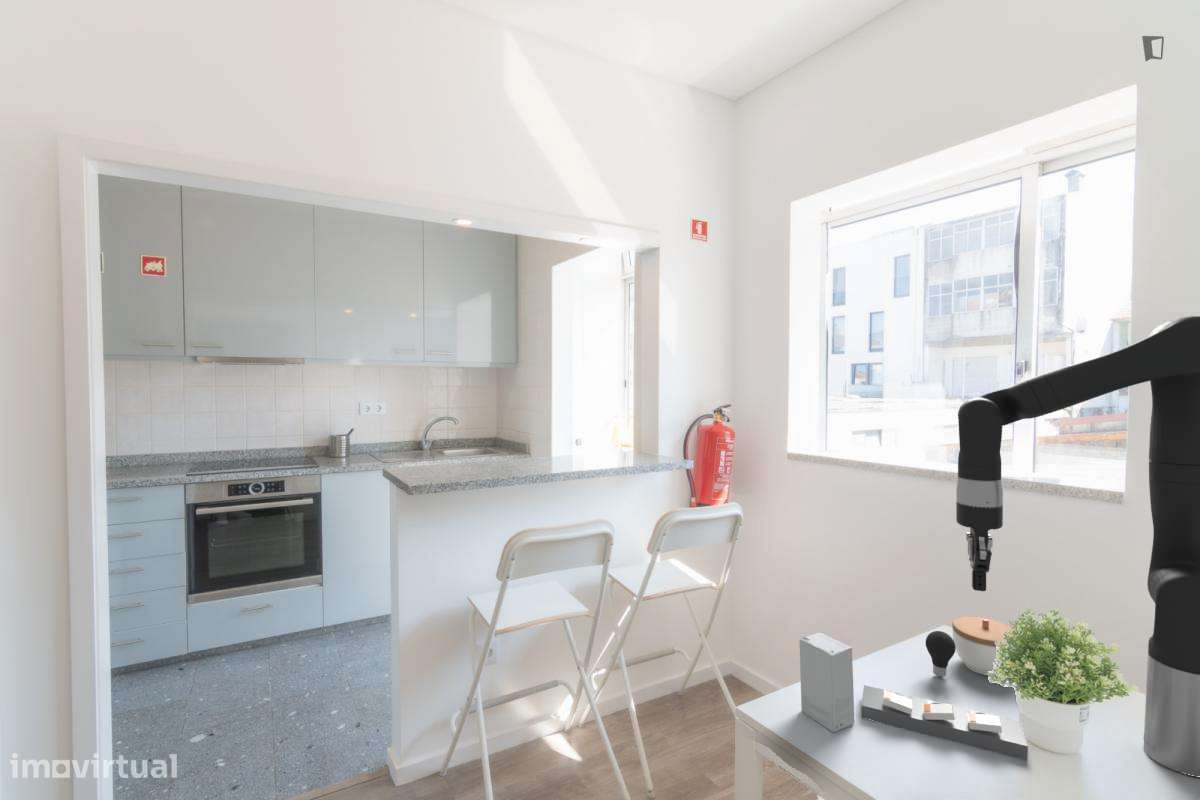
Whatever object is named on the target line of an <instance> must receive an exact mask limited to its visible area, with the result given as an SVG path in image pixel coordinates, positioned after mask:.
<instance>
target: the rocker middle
mask: <svg viewBox="0 0 1200 800" xmlns="http://www.w3.org/2000/svg"><path fill="white" fill-rule="evenodd" d="M952 706H953V704H952V703H944V704H923V714H924V717H925V719H929V720H955V718H954V710H953V707H952Z"/></svg>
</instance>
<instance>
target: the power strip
mask: <svg viewBox="0 0 1200 800" xmlns="http://www.w3.org/2000/svg"><path fill="white" fill-rule="evenodd" d="M884 690H886V691H889V692H892V693H895V694H897V695H900V696H903V697H905V698H908V699H911V700H912V712H911V714H908V713H905V712H903V711H900V710H897V709H895V708H892V707H889V706H887V705H884V704H883V694H884ZM923 704H945V703H943V702H939V701H934V700H930V699H926V698H922V697H918V696H913V695H908V694H904V693H900V692H897V691H891V690H887V689H882V688H880V687H879V688H878V687H874V686H870V685H865V684H864V685H863V691H862V697H861V705H860V718H861V717H862V718H861V719H863V718H867V719H871V720H874V721H873V722H875V721H878V722H877V723H879V722H881V723H880V724H883V723H884V724H885V725H887V724H888V726H891V725H892V727H895V728H899V729H903V730H906V729H907V731H911V732H915V733H919V734H923V735H926V736H929V737H935V738H939V739H942V740H946V741H950V742H954V743H957V744H961V745H966V746H969V747H973V748H978V749H981V750H985V751H989V752H993V753H998V754H999V755H1000V754H1002V755H1005V756H1009V757H1013V758H1017V759H1020V760H1025V761H1028V756H1029V755H1028V754H1029V753H1028V752H1029V746H1028V743H1027V740H1026V735H1025V732H1024V730H1023V727H1022V723H1021V720H1017V719H1012V718H1008V717H1005V716H999V715H998V716H999V720H1000V724H1001V729H1002V733H1000V732H992V731H983V730H974V729H970V727H969V721H968V715H967V713H974V714H983V715H993V716H997V715H995V714H991V713H987V712H982V711H978V710H973V709H970V708H964V707H960V706H957V705H952V707H953V710H954V718H955V720H929V719H925V717H924V714H923ZM867 719H866V720H867ZM871 720H870V721H871ZM884 724H883V725H884Z"/></svg>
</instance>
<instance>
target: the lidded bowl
mask: <svg viewBox="0 0 1200 800" xmlns="http://www.w3.org/2000/svg"><path fill="white" fill-rule="evenodd" d="M951 624H952V625H951V626H952V639H953V640H954V643H955V646H956V649H955V653H956V654H957V656H958V658H959V659H960V660H961V661H962V662H963V663H964V664H965V667H966V668H968V669H969V670H971V671H972V672H974V673H976V674H979V673H980V675H982V674H983V675H982V676H987V673H988V671H992V670H993V662H994V661H995V658H996V645H995V643H994V642H995V641H999V640H1003V634H1004V633H1005V632H1008V631H1010V630H1011V626H1009V625H1008V624H1005V623H1003V622H1000V621H997V620H993V619H990V618H984V617H977V616H959V617H957V618H955V619H953V621H952V622H951ZM987 677H988V676H987Z"/></svg>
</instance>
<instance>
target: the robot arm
mask: <svg viewBox="0 0 1200 800" xmlns="http://www.w3.org/2000/svg"><path fill="white" fill-rule="evenodd" d="M1148 382H1150V390H1151V401H1152V402H1151V403H1152V404H1151V415H1150V424H1149V425H1150V426H1149V447H1148V449H1149V450H1148V486H1149V500H1150V501H1149V502H1150V510H1151V520H1152V528H1153V529H1152V531H1153V535H1152V536H1153V538H1152V546H1151V548H1152V549H1151V554H1150V555H1151V556H1150V561H1149V568H1148V576H1147V580H1146V581H1147V591H1148V594H1149V596H1150V597H1151V599H1152V601H1153V602H1154V604H1155V605H1154V621H1153V623H1154V624H1153V633H1152V635H1151V637H1149V639H1148V643H1147V644H1148V646H1147V648H1148V649H1147V665H1146V666H1147V667H1146V689H1145V690H1146V691H1145V708H1144V710H1145V711H1144V730H1143V731H1144V732H1143V751H1144V752H1145V754H1146V755H1147V756H1148V757H1150V758H1151V759H1152V760H1154V761H1155V762H1156V763H1158V764H1160V765H1161V766H1163V767H1166V768H1168V769H1169V768H1170V770H1172V769H1173V770H1172V771H1174V770H1175V771H1174V772H1177V771H1179V772H1183V773H1186V774H1190V775H1194V776H1200V315H1199V316H1195V315H1193V316H1186V317H1180V318H1174V319H1172V320H1168V321H1165V322H1163V323H1162V324H1160V325H1158V326H1157V327H1156V328H1155V329H1153V330H1152V332H1151V333H1150V334H1149V335H1148V337H1147V338H1144V339H1143V340H1141V341H1140V340H1139V341H1138V342H1135V343H1134V344H1132V345H1129V346H1126V347H1124V348H1122V349H1119V350H1116V351H1114V352H1110V353H1108V354H1105V355H1102V356H1099V357H1095V358H1091V359H1087V360H1085V361H1082V362H1081V361H1080V362H1077V363H1074V364H1071V365H1066V366H1064V367H1063V366H1062V367H1060V368H1056V369H1053V370H1051V371H1047V372H1045V373H1042V374H1039V375H1037V376H1034V377H1030V378H1028V379H1026V380H1023V381H1020V382H1018V383H1016V384H1014V385H1011V386H1009V387H1006V388H1003V389H998V390H996V391H995V390H994V391H991V392H988V393H985V394H981V395H979V396H976V397H973V398H970V399H968V400H966V401H964V402H963V403H962V404H961V405H960V407H959V408H958V412H957V419H958V421H957V423H958V439H959V440H958V441H959V451H958V458H957V481H956V482H957V484H956V490H955V491H956V502H955V506H956V509H955V510H956V517H955V519H956V523H957V524H958V525H960V526H962V527H966V528H969V531H970V532H967V531H966V533H965V539H966V542H967V555H968V561H969V562H970V564H969V567H970V570H971V587H972V589H973V590H974V591H979V592H986V591H987V573H989V572H990V566H991V565H990V564H991V559H992V555H993V552H992V548H993V537H991V534H989V531H990V530H999V529H1001V528H1002V527H1003V526H1004V525H1003V520H1004V515H1003V513H1004V510H1003V508H1004V507H1003V505H1004V492H1003V491H1004V490H1003V484H1002V456H1001V448H1002V438H1003V436H1002V435H1003V427H1004V426H1008V425H1010V424H1012V423H1015V422H1018V421H1021V420H1026V419H1027V420H1028V419H1029V420H1030V419H1034V418H1039V417H1042V416H1046V415H1049V414H1053V413H1054V412H1059V411H1061V410H1063V409H1066V408H1070V407H1072V406H1076V405H1078V404H1079V405H1080V404H1081V403H1084V402H1087V401H1089V400H1093V399H1095V398H1099V397H1101V396H1104V395H1107V394H1110V393H1112V392H1115V391H1119V390H1122V389H1124V388H1128V387H1132V386H1135V385H1139V384H1143V383H1148ZM1179 772H1178V773H1179ZM1186 774H1185V775H1186Z"/></svg>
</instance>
